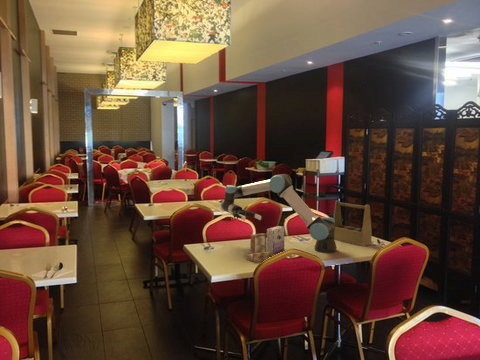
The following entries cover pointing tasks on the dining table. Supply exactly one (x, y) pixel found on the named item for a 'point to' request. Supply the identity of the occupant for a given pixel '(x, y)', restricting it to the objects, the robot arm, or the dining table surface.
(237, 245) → the dining table surface
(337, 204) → the caddy
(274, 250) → the candy box
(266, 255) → the ledge
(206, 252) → the dining table surface
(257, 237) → the wooden block
